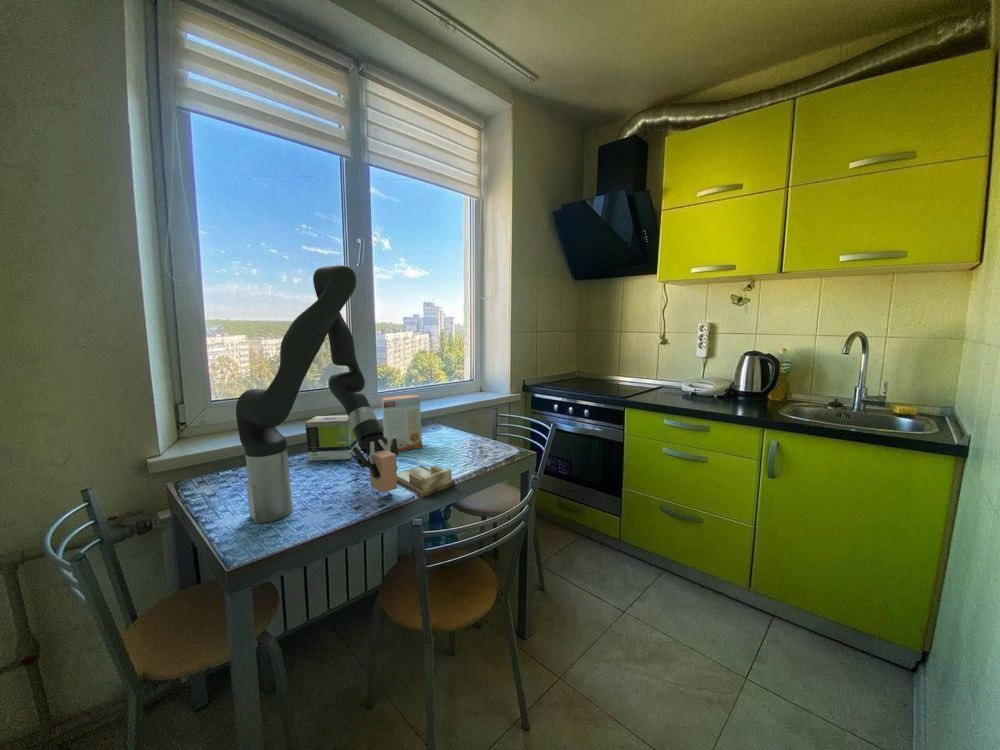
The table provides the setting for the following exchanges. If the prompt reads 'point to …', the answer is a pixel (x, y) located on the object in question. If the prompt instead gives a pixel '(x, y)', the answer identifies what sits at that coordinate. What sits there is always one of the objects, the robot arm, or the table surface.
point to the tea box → (330, 438)
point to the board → (425, 480)
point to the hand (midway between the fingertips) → (386, 474)
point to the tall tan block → (385, 471)
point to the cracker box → (402, 421)
